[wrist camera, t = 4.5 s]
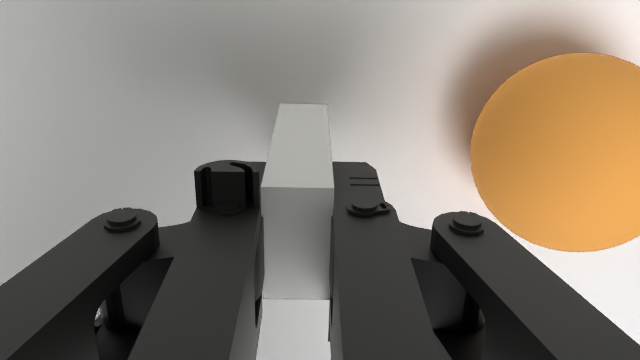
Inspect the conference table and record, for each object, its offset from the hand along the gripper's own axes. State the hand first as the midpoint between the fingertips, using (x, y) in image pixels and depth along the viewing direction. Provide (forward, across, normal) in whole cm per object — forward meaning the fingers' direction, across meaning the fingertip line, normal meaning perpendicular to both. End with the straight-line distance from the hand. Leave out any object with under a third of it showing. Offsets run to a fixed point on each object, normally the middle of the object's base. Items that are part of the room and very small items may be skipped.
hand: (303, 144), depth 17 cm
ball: (-1, -8, 0) cm, 8 cm away
